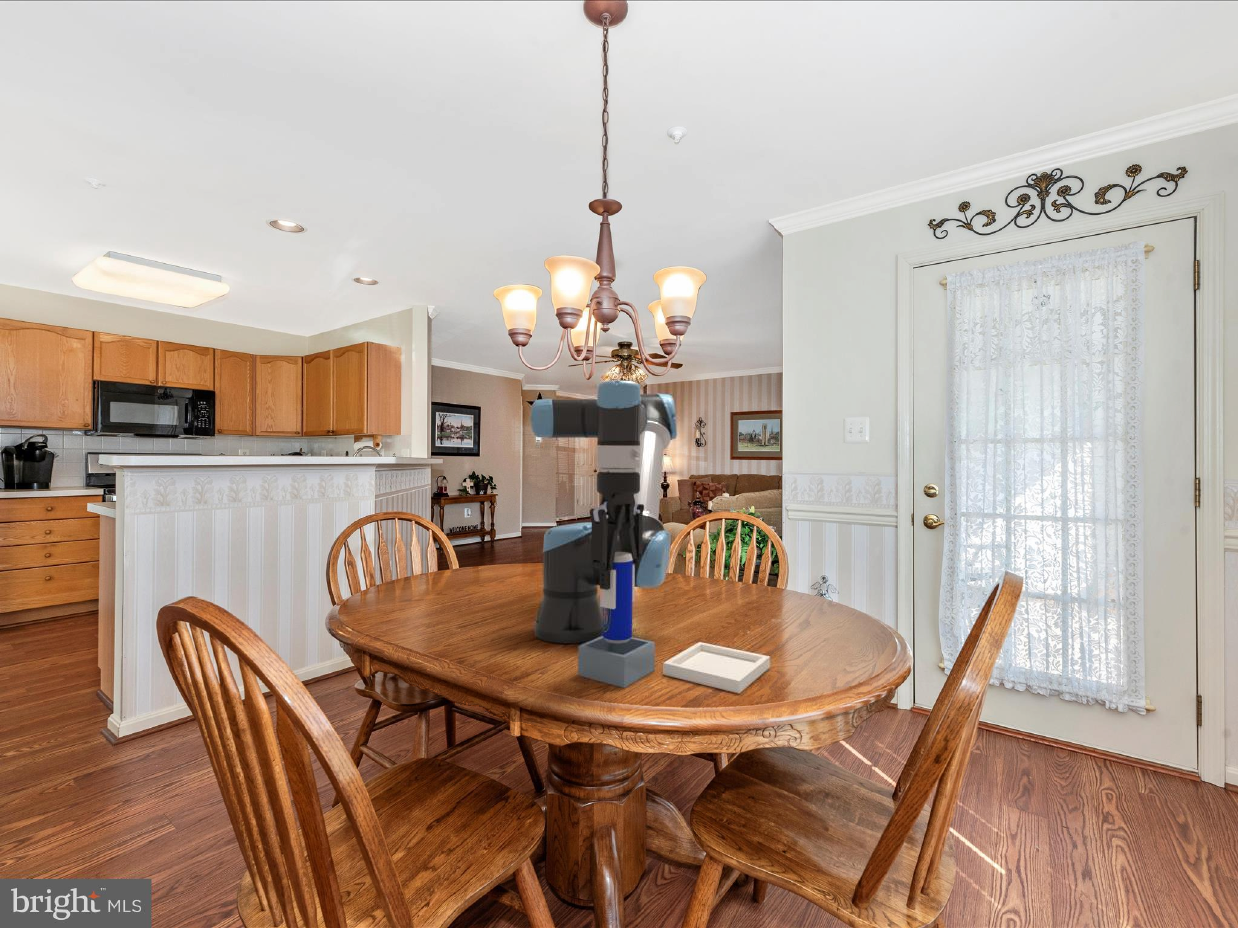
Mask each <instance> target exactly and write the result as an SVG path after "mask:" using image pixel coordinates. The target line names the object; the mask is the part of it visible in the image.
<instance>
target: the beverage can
mask: <svg viewBox="0 0 1238 928" xmlns="http://www.w3.org/2000/svg"><path fill="white" fill-rule="evenodd" d="M612 570H616V608H615V609H610V608H604V607H602V614H603V638H604V639H605V640H606V641H607V642H610V643H626V642H628V641H629V640H630V639H631V637H633V602H632V588H633V559H632V556H631V553H627V552H615V556H614V563H613V569H612Z"/></svg>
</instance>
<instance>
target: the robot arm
mask: <svg viewBox="0 0 1238 928" xmlns="http://www.w3.org/2000/svg"><path fill="white" fill-rule="evenodd" d="M674 400H675V399H674V398H673V396H672V395H671V394H668V393H667V394H666V393H658V392H655V393H649V394H648V393H641V386H640V384H639V383H638V382H636V381H632V380H631V381H630V380H606V381H602V382H600V383H599V384H598V386H597V396H595V397H588V398H583V399H582V398H580V399H579V398H547V399H537V400H535V401H534V402H533V403H532V406H531V408H530V416H529V417H530V427H531V431H532V433H533V435H534V436H535V437H537V438H547V439H566V438H567V439H571V438H572V439H573V438H575V439H577V438H578V439H579V438H582V439H583V438H586V439H587V438H588V439H592V438H593V439H597V443H596V445H597V446H596V468H597V469H599V471H598V472H597V473H596V491H597V493H598V494H601V500H600V505H599V507H597V508H590V510H589V518H590V521H591V522H577V523H570V524H563V525H558V526H554V527H551V528H548V529H547V530H546V531H545V533H544V536H543V549H542V568H543V569H542V575H543V576H542V600H541V603H540V605H539V608H538V612H537V615H536V619H535V621H534V628H533V629H534V636H535V638H537V639H539V640H542V641H545V642H550V643H556V644H557V643H558V644H583V643H587V642H589V641H592V640H594V639H596V638H599V637H601V636H603V609H602V608H603V607H604V608H610V609H615V608H616V570H612V569H613V563H614V556H615V552H627V553H631V556H632V559H633V588H632V603H633V602H635V588H639V589H643V588H657V587H659V586H661V585H662V584H663V582H664V581H665V579H666V576H667V572H668V568H669V562H670V552H671V544H672V543H671V534H670V532H668V531H665V525H664V524H663V523H662V521H661V520H659V515H660V502H661V487H662V476H663V475H662V474H663V461H664V450H665V449H667V448H668V447H669V445H670V442H671V441H672V440H675V439H677V436H678V435H677V433H678V431H677V419H676V408H675V401H674ZM598 586H599V589H600V590H599V596H598Z"/></svg>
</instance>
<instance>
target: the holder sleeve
mask: <svg viewBox="0 0 1238 928" xmlns="http://www.w3.org/2000/svg"><path fill="white" fill-rule="evenodd" d="M655 645H656V642H655V641H650V640H646V639H642V638H638V637H633V636H632V637H631V639H630V640H629V641H628V642H626V643H610V642H607V641H606V640H605V639H604V638H603V636H601V637H599V638H596V639H594V640H592V641H589V642H584V643H581V644H580V645H577V648H578V649H577V676H579V677H583V678H587V679H590V680H594V681H598V682H601V683H605V684H609V685H612V686H615V687H619V688H623V689H625V688H627V687H629V686H630V685H632V684H634V683H636V682H637V681H639V680H641V679H642V678H644V677H646V676H647V675H649V674H651V673H652V672H654V671H655V664H656V662H655V656H656V655H655V654H656V653H655V651H656V650H655V649H656V646H655Z"/></svg>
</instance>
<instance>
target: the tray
mask: <svg viewBox="0 0 1238 928" xmlns="http://www.w3.org/2000/svg"><path fill="white" fill-rule="evenodd" d="M662 664H663V665H662V670H663V671H662V674H663V675H664V676H667V677H672V678H676V679H678V680H679V679H680V680H683V681H688V682H691V683H692V682H693V683H696V684H700V685H704V686H708V687H712V688H716V689H720V690H725V691H727V692H731V693H736V694H738V695H739V694H741V693H742V692H743V691H744V690H746V689H747V688H748V687H750V685H751V684H753V683H754V682H755V681H756V680H757V679H758V678H759V677H761V676H762V675H763V674H765V672H766V671H768V670H769V669H770V668H771V656H769V655H766V654H761V653H754V652H749V651H745V650H739V649H734V648H730V647H725V646H722V645H721V646H720V645H717V644H716V645H715V644H710V643H706V642H701V641H699V642H697V643H695V644H693V645H692V646H690V647H688V648H687V649H685V650H683V651H681V652H679V653H677V654H676V655H675V656H673V657H671V658H669V659H668V660H666V661H664V662H662Z"/></svg>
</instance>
